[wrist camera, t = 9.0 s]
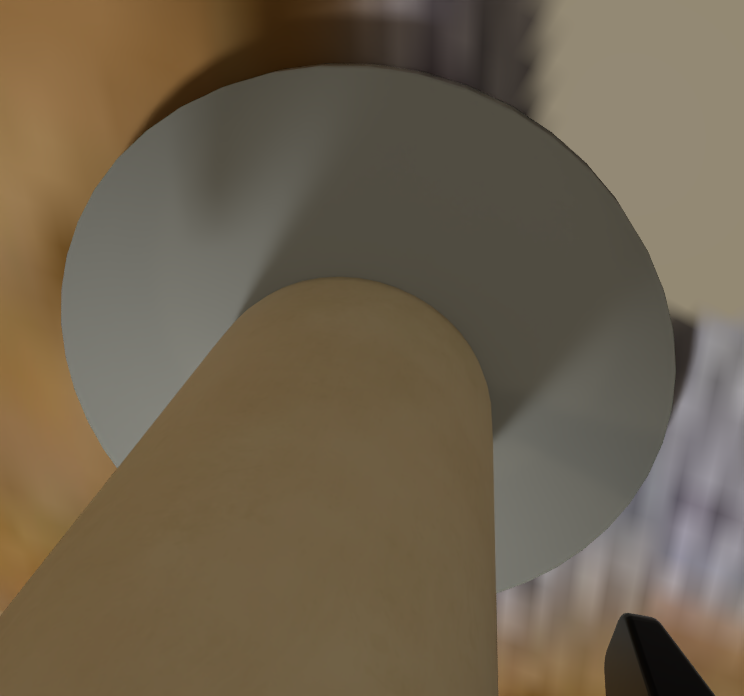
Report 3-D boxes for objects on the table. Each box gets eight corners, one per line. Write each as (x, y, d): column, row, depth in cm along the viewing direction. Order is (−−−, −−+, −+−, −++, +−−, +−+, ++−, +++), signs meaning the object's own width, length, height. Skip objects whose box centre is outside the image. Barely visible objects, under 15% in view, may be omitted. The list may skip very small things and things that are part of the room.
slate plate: (763, 96, 10) (784, 103, 9) (584, 618, 16) (588, 647, 15) (31, 35, 11) (0, 37, 10) (122, 536, 17) (107, 559, 16)
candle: (277, 216, 11) (-519, 1030, 2) (550, 363, 11) (761, 1483, 3) (181, 435, 14) (-353, 1195, 5) (406, 546, 14) (284, 1410, 5)
